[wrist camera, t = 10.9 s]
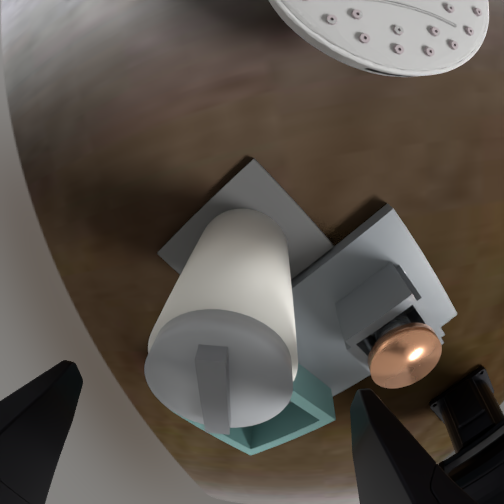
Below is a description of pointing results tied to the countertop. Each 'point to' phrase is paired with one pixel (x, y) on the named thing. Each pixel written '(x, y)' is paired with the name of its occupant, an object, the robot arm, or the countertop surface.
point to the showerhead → (391, 32)
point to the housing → (348, 322)
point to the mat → (260, 199)
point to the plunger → (403, 352)
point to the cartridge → (228, 327)
